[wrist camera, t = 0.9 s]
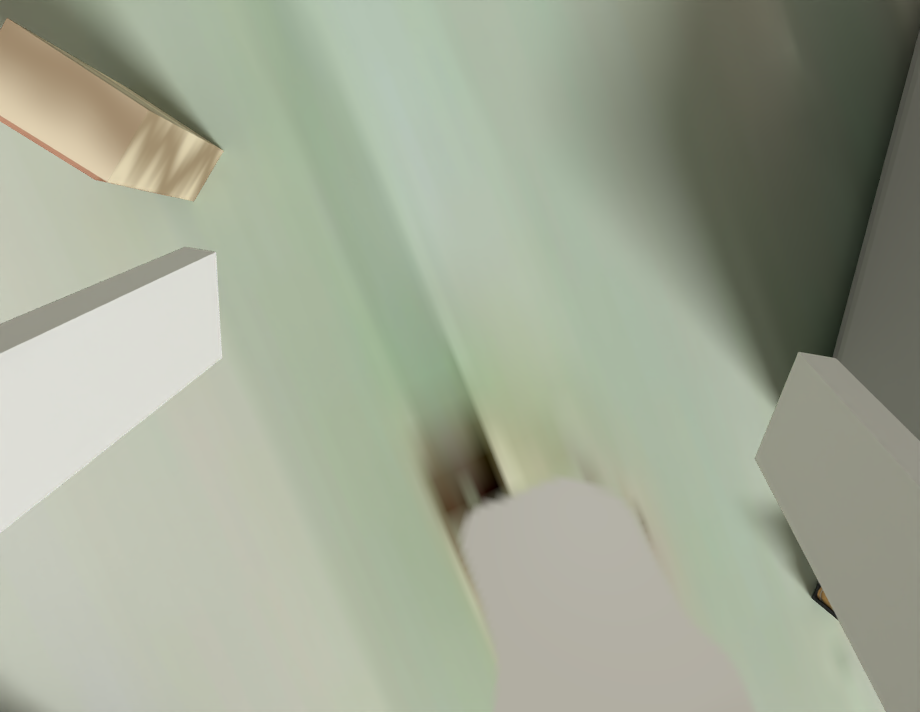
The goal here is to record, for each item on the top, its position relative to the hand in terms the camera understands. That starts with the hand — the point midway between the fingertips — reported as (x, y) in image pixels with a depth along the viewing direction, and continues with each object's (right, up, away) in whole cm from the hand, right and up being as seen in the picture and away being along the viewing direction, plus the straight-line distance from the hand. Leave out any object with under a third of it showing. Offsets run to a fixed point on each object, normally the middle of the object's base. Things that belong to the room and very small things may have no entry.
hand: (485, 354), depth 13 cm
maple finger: (-21, +14, +26) cm, 36 cm away
